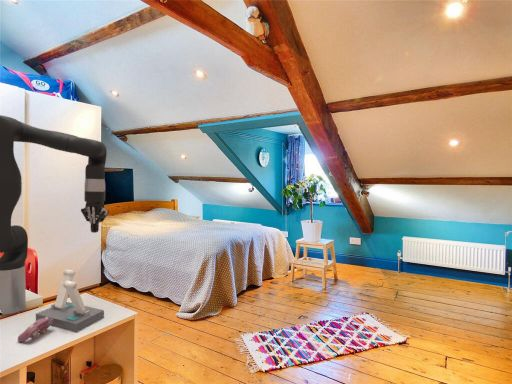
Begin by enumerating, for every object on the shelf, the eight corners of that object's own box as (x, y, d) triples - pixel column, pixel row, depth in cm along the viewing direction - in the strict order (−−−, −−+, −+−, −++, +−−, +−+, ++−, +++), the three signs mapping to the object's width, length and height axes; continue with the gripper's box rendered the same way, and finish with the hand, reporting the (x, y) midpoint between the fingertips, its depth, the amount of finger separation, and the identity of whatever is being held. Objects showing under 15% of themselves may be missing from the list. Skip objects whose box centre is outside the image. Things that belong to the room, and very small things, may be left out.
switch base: (35, 321, 117) (35, 309, 117) (65, 308, 128) (65, 297, 128) (76, 332, 110) (76, 319, 110) (103, 317, 121) (103, 306, 121)
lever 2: (75, 314, 117) (62, 283, 111) (80, 309, 119) (67, 279, 113) (83, 316, 116) (69, 284, 110) (88, 311, 118) (75, 280, 112)
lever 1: (52, 307, 120) (64, 268, 124) (58, 307, 122) (69, 269, 126) (59, 309, 119) (71, 270, 123) (65, 309, 121) (76, 270, 125)
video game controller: (25, 348, 102) (34, 330, 101) (14, 341, 103) (22, 323, 102) (50, 333, 112) (58, 317, 111) (40, 326, 113) (48, 310, 112)
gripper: (74, 189, 128) (74, 232, 129) (100, 191, 124) (99, 235, 125) (90, 188, 135) (89, 229, 136) (114, 190, 131) (114, 232, 132)
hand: (94, 232), depth 130 cm, fingers closed
